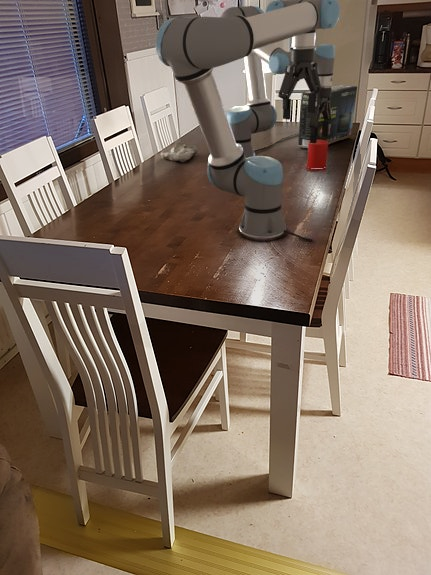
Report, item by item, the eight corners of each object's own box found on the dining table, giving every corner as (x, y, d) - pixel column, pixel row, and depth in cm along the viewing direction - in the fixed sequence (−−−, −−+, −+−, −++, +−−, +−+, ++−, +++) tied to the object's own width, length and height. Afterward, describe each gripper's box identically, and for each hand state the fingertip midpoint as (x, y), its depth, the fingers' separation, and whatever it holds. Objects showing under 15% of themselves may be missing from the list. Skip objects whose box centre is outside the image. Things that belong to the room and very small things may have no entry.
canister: (302, 168, 207) (304, 142, 201) (314, 164, 212) (316, 138, 206) (317, 172, 202) (319, 145, 196) (329, 168, 206) (332, 141, 200)
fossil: (184, 156, 217) (163, 136, 220) (174, 174, 223) (154, 154, 227) (205, 153, 231) (186, 134, 234) (195, 171, 237) (176, 152, 240)
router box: (314, 151, 231) (318, 94, 217) (296, 148, 237) (299, 92, 224) (352, 138, 251) (358, 85, 238) (335, 135, 258) (340, 83, 245)
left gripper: (320, 91, 178) (316, 146, 189) (341, 83, 196) (337, 134, 207) (302, 90, 182) (299, 145, 193) (324, 82, 200) (321, 132, 211)
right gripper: (316, 45, 160) (312, 109, 171) (268, 50, 146) (267, 120, 157) (335, 45, 155) (329, 111, 166) (286, 51, 141) (283, 123, 152)
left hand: (319, 139), depth 200 cm, fingers open, 13 cm apart
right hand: (299, 115), depth 161 cm, fingers open, 13 cm apart
